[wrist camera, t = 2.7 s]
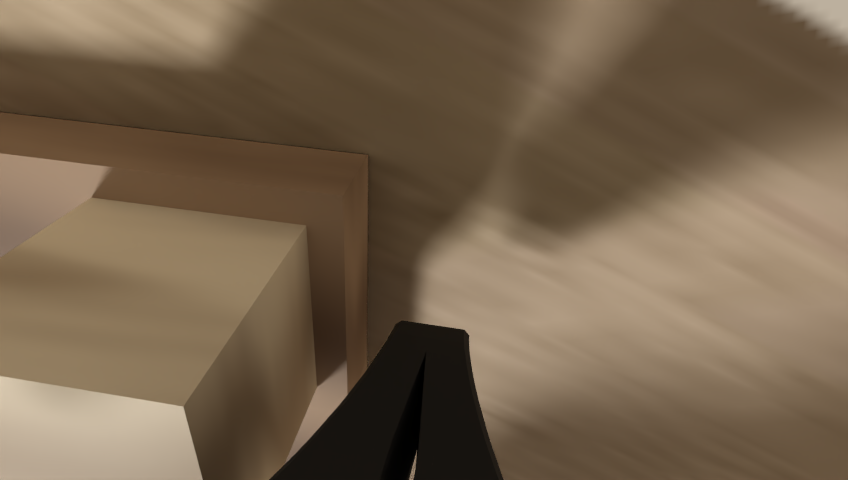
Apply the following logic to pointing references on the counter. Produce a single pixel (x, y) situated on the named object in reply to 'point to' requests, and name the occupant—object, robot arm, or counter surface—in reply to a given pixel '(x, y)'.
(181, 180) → the deck
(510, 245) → the counter surface
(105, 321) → the block
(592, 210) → the counter surface
